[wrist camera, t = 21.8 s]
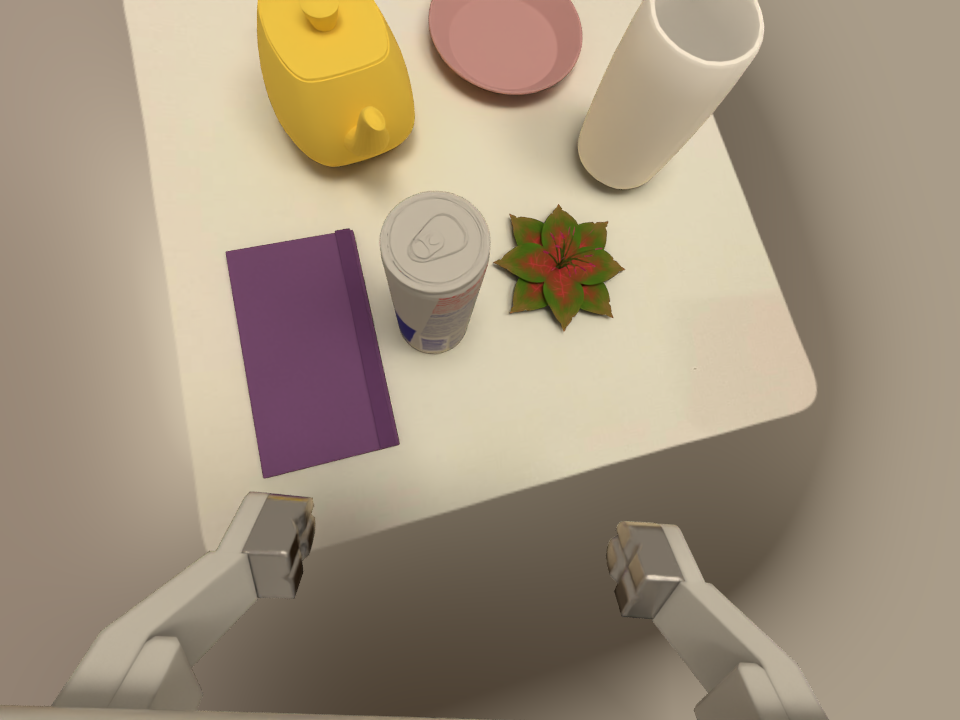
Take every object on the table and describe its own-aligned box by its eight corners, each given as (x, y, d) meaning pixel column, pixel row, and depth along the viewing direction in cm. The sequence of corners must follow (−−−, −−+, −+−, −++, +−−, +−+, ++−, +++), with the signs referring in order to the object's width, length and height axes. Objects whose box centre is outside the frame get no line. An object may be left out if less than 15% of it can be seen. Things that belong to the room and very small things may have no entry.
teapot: (450, 191, 38) (459, 97, 28) (330, 235, 36) (291, 152, 26) (369, 26, 41) (349, -118, 30) (251, 59, 39) (185, -83, 28)
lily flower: (491, 201, 39) (499, 169, 34) (620, 210, 40) (644, 181, 36) (490, 332, 36) (499, 316, 32) (627, 337, 38) (654, 323, 33)
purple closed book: (399, 444, 34) (399, 444, 33) (266, 478, 32) (261, 479, 31) (353, 232, 37) (352, 227, 36) (228, 254, 35) (223, 249, 34)
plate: (596, 94, 42) (604, 77, 40) (454, 123, 40) (455, 106, 38) (547, -27, 44) (553, -49, 42) (410, -7, 42) (409, -29, 40)
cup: (632, 109, 42) (732, -54, 28) (671, 184, 41) (794, 52, 27) (555, 132, 41) (620, -27, 27) (593, 211, 40) (681, 87, 26)
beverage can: (475, 300, 37) (505, 207, 22) (456, 363, 36) (475, 307, 21) (411, 280, 36) (399, 171, 22) (389, 343, 35) (362, 272, 21)
